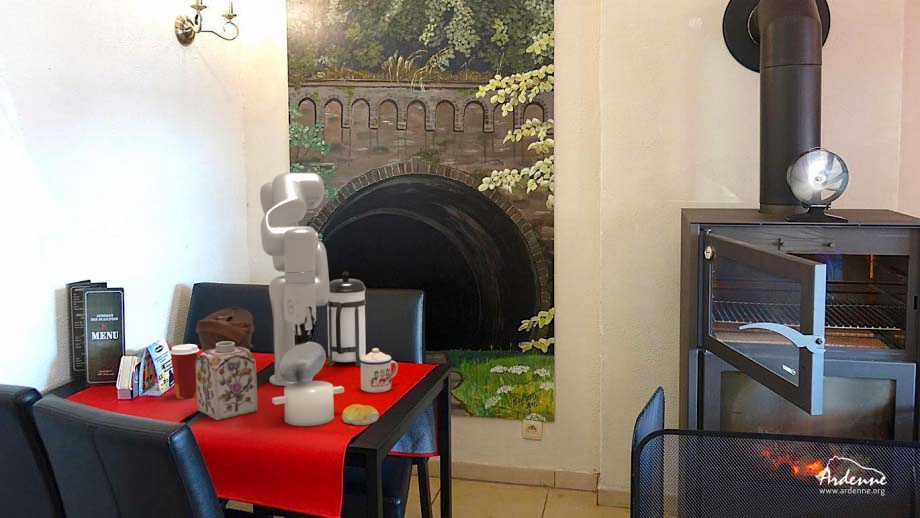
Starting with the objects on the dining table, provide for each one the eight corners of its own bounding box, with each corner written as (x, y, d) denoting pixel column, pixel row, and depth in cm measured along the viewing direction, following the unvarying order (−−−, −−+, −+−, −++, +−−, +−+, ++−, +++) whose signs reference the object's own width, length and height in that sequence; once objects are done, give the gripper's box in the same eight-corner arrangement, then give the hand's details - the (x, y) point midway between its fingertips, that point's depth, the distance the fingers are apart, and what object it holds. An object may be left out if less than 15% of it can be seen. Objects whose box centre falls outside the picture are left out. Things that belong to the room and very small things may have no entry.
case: (204, 376, 230) (202, 318, 228) (191, 363, 247) (189, 308, 245) (262, 369, 239) (261, 313, 237) (246, 357, 256) (245, 305, 254)
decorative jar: (238, 401, 205) (236, 336, 203) (259, 411, 196) (256, 343, 194) (195, 411, 197) (192, 343, 195) (215, 421, 188) (212, 350, 186)
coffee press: (313, 362, 248) (311, 271, 245) (356, 355, 257) (354, 267, 254) (337, 373, 234) (335, 277, 231) (382, 365, 243) (381, 273, 240)
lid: (276, 385, 191) (273, 381, 192) (321, 378, 198) (318, 373, 199) (283, 347, 185) (280, 342, 186) (329, 340, 192) (327, 336, 193)
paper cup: (206, 393, 212) (204, 344, 211) (188, 401, 205) (186, 350, 203) (183, 391, 215) (181, 342, 213) (165, 398, 207) (162, 348, 206)
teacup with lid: (371, 395, 210) (371, 354, 209) (354, 388, 217) (353, 348, 216) (406, 387, 218) (406, 347, 217) (388, 380, 225) (387, 342, 224)
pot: (265, 418, 190) (264, 387, 189) (332, 405, 200) (331, 376, 200) (283, 432, 180) (283, 399, 179) (353, 417, 190) (352, 386, 190)
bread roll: (356, 413, 195) (356, 398, 194) (383, 419, 190) (383, 403, 189) (334, 422, 188) (334, 406, 187) (362, 428, 183) (362, 412, 183)
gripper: (274, 276, 193) (276, 346, 195) (297, 282, 181) (299, 357, 183) (302, 274, 197) (304, 343, 199) (326, 280, 185) (328, 353, 187)
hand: (302, 349), depth 191 cm, fingers closed
